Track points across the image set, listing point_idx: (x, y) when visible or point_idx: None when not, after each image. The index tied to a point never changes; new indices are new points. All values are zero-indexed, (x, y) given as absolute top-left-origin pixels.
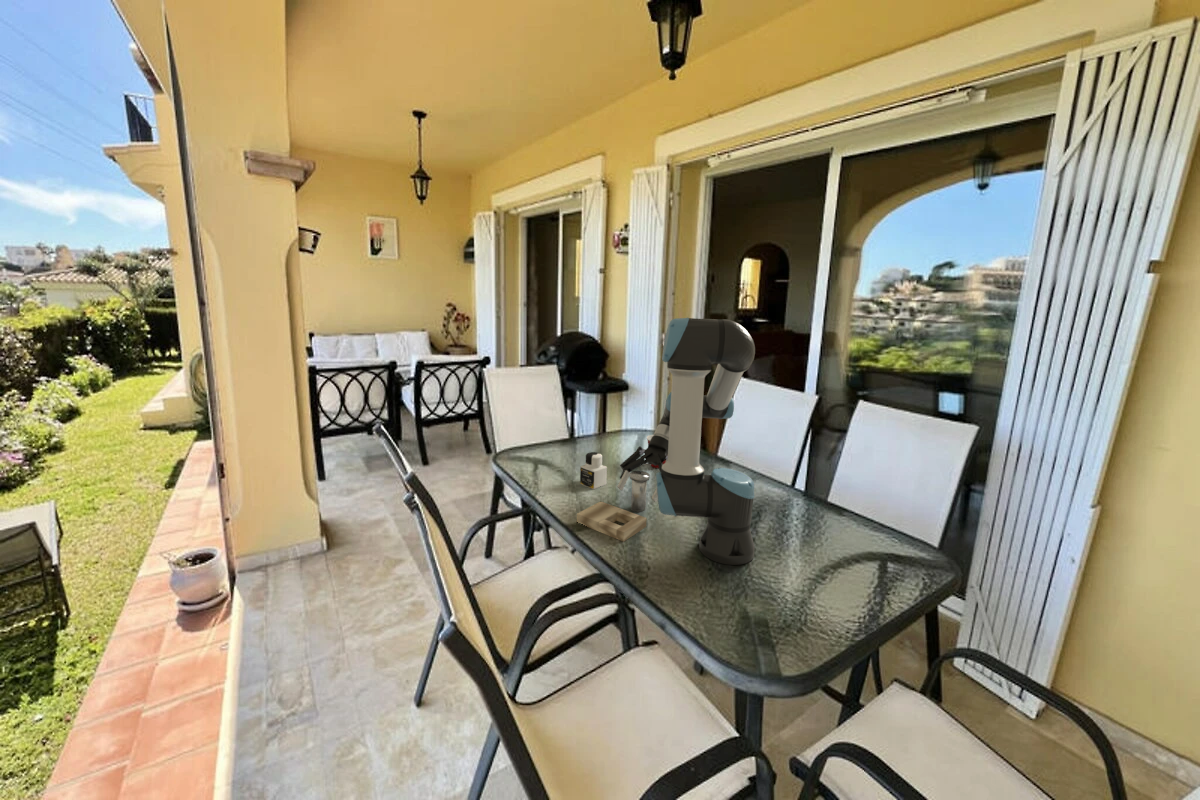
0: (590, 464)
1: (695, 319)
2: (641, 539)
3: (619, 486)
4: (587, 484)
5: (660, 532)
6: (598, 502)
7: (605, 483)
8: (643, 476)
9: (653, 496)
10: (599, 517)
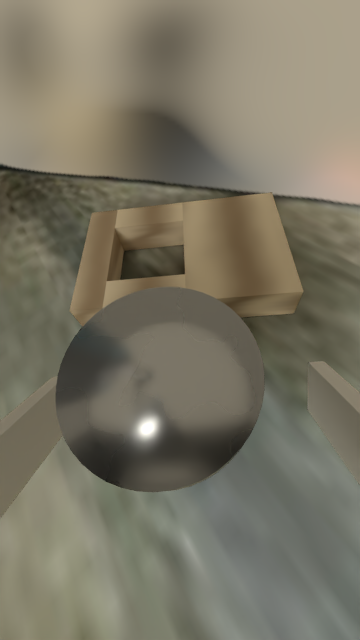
0: None
1: None
2: (67, 269)
3: (310, 365)
4: None
5: (30, 332)
6: (298, 279)
7: None
8: (101, 352)
9: (51, 382)
10: (202, 218)
